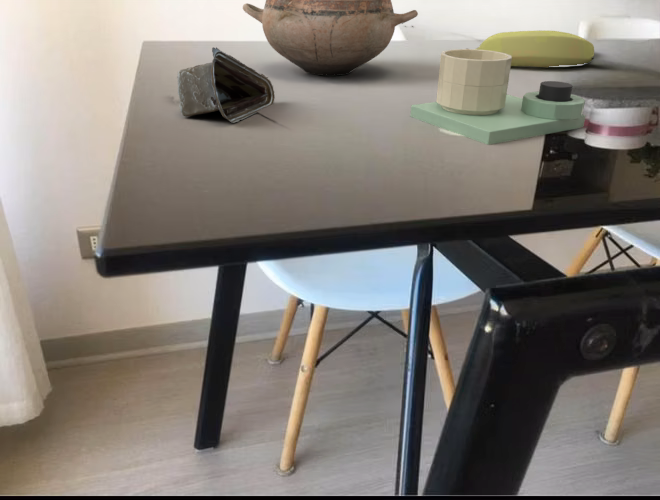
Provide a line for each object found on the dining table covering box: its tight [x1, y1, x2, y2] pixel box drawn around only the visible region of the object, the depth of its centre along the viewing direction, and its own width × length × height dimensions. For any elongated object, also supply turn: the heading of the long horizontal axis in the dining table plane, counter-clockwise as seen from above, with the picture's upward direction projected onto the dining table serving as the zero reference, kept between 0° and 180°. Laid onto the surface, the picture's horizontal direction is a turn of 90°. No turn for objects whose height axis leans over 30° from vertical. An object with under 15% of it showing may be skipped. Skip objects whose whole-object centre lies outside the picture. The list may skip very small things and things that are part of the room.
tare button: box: [538, 80, 573, 102], centre depth 66 cm, size 3×3×2 cm
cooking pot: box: [242, 0, 419, 77], centre depth 90 cm, size 25×19×12 cm
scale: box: [409, 91, 587, 146], centre depth 67 cm, size 15×12×3 cm
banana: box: [475, 30, 595, 68], centre depth 102 cm, size 14×6×20 cm
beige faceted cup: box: [435, 48, 512, 115], centre depth 67 cm, size 7×7×6 cm
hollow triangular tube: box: [177, 46, 276, 123], centre depth 69 cm, size 10×7×12 cm
